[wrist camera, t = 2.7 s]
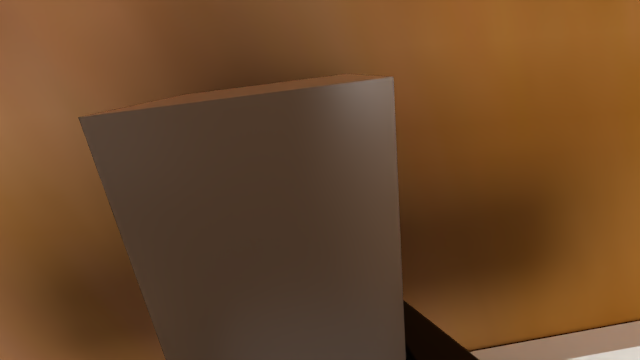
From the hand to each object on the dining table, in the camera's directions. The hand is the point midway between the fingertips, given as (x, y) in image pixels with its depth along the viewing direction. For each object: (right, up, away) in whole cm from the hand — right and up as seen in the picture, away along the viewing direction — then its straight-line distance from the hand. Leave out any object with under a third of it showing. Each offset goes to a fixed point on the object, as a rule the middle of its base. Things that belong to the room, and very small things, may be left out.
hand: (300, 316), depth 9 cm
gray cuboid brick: (0, 0, +1) cm, 1 cm away
